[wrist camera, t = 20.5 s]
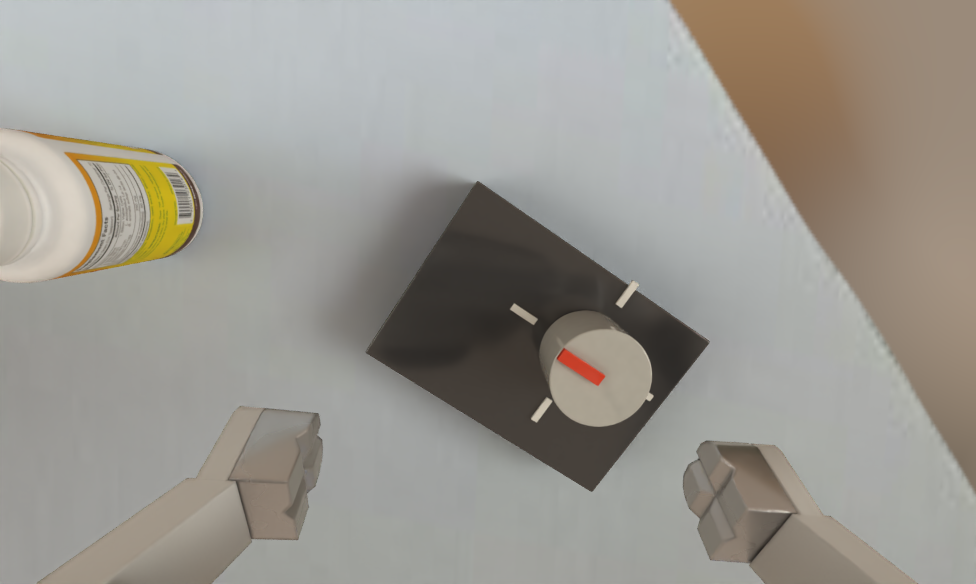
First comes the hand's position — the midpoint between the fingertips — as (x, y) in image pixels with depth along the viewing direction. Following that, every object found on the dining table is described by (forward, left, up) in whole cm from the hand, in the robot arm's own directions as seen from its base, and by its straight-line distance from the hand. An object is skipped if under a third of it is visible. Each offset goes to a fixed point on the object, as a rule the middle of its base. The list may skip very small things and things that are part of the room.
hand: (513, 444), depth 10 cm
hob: (-3, 0, -16) cm, 16 cm away
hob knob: (-5, -1, -13) cm, 14 cm away
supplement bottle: (+17, +6, -16) cm, 24 cm away
